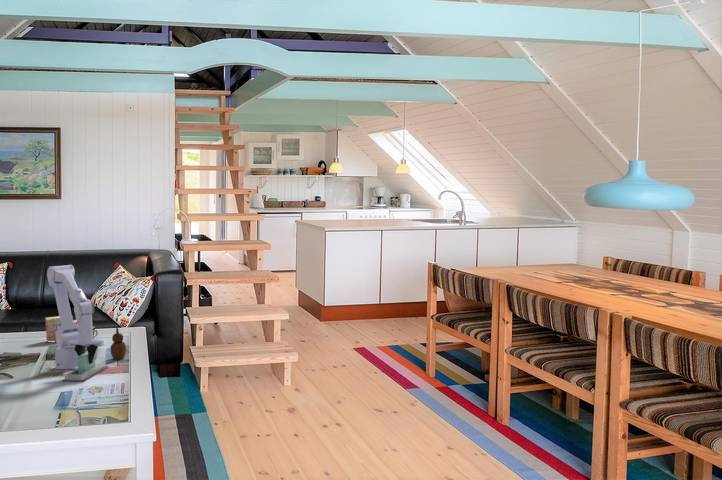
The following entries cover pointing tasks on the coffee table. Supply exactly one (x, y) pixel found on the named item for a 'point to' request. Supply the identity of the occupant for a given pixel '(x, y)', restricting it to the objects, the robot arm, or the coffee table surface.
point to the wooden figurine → (118, 346)
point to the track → (84, 373)
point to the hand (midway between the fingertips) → (86, 363)
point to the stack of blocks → (53, 327)
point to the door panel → (84, 363)
